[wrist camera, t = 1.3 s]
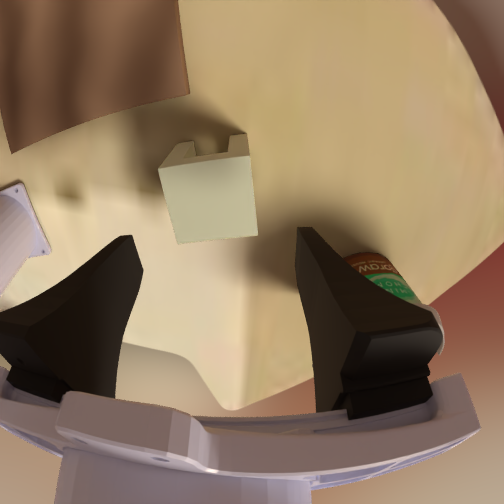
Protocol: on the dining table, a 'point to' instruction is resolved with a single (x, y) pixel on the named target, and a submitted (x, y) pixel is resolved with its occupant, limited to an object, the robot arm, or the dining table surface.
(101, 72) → the serving board
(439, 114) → the dining table surface
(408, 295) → the food container
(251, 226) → the pale slotted block
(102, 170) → the dining table surface
